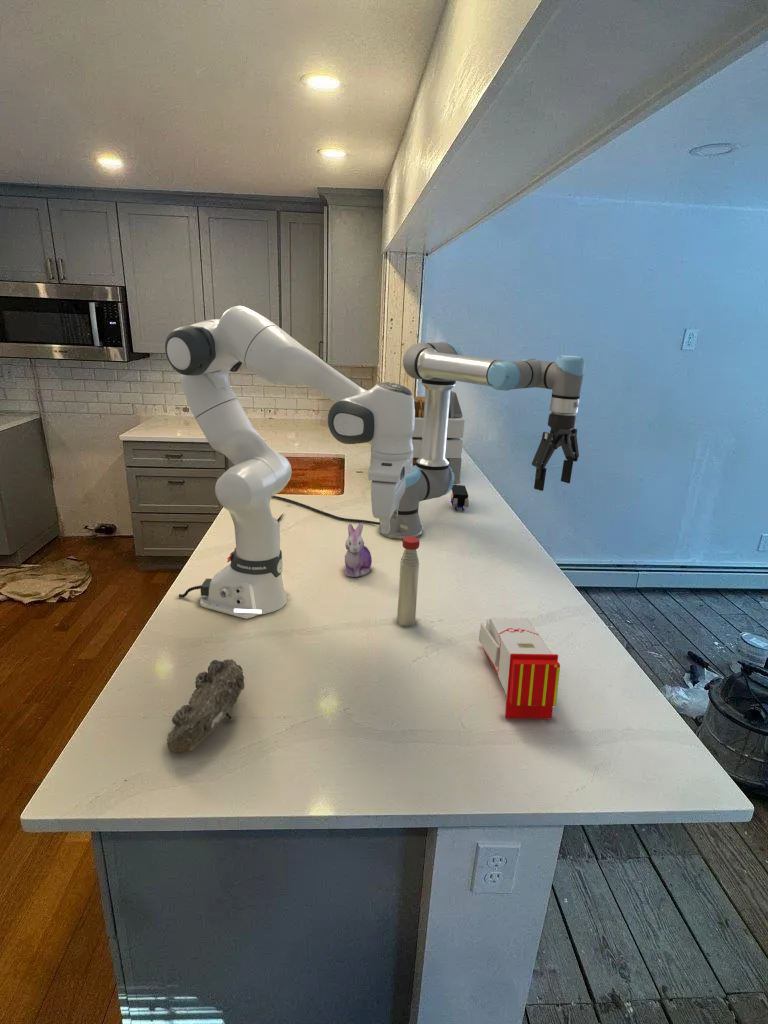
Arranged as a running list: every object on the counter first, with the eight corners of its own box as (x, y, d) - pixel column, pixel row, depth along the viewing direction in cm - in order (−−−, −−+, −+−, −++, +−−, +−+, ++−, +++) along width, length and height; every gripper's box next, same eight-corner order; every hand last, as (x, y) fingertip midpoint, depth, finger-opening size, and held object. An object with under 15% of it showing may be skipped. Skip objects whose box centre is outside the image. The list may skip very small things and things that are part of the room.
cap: (419, 550, 135) (420, 542, 135) (403, 549, 135) (403, 542, 134) (417, 543, 139) (418, 536, 138) (401, 543, 139) (402, 536, 138)
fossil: (192, 660, 117) (244, 628, 112) (224, 691, 120) (276, 661, 115) (142, 746, 98) (202, 712, 93) (182, 779, 101) (242, 748, 96)
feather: (290, 508, 223) (292, 504, 223) (272, 532, 197) (275, 527, 196) (286, 505, 223) (289, 501, 223) (268, 529, 197) (271, 525, 196)
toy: (525, 603, 136) (569, 660, 107) (520, 654, 139) (562, 725, 109) (475, 601, 135) (505, 659, 106) (471, 653, 138) (499, 724, 109)
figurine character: (468, 516, 224) (463, 500, 237) (471, 498, 221) (465, 483, 234) (452, 515, 224) (447, 499, 237) (453, 498, 220) (449, 482, 234)
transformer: (382, 463, 289) (386, 382, 275) (445, 464, 293) (451, 384, 279) (390, 482, 257) (394, 392, 243) (460, 483, 261) (468, 394, 247)
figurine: (350, 580, 164) (351, 532, 159) (336, 566, 172) (336, 520, 167) (379, 575, 168) (381, 528, 163) (364, 561, 176) (365, 516, 171)
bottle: (415, 626, 142) (421, 544, 134) (397, 626, 142) (402, 544, 134) (413, 617, 146) (419, 537, 139) (396, 617, 146) (400, 537, 138)
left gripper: (386, 450, 128) (384, 508, 133) (366, 474, 110) (364, 540, 114) (413, 452, 127) (410, 510, 132) (398, 477, 108) (395, 543, 113)
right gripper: (548, 419, 148) (537, 496, 155) (598, 411, 163) (586, 482, 171) (525, 414, 153) (515, 489, 160) (575, 407, 169) (564, 476, 176)
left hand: (389, 524), depth 123 cm, fingers open, 8 cm apart
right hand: (552, 485), depth 166 cm, fingers open, 13 cm apart
